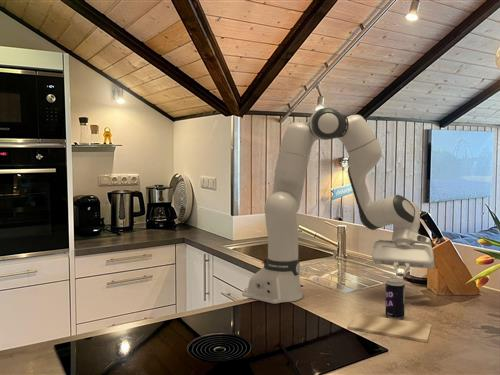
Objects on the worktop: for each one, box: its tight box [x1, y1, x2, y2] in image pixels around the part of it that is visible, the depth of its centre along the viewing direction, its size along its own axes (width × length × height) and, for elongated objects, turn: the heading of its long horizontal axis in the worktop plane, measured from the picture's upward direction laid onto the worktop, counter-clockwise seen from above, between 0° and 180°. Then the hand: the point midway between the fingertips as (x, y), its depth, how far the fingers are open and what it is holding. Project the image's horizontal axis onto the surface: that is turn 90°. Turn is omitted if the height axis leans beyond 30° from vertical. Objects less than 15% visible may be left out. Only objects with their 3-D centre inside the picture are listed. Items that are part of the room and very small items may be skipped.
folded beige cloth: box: [347, 312, 432, 344], centre depth 128 cm, size 22×12×1 cm, turn 63°
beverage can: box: [385, 277, 406, 320], centre depth 136 cm, size 6×6×12 cm
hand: (400, 275), depth 145 cm, fingers closed
